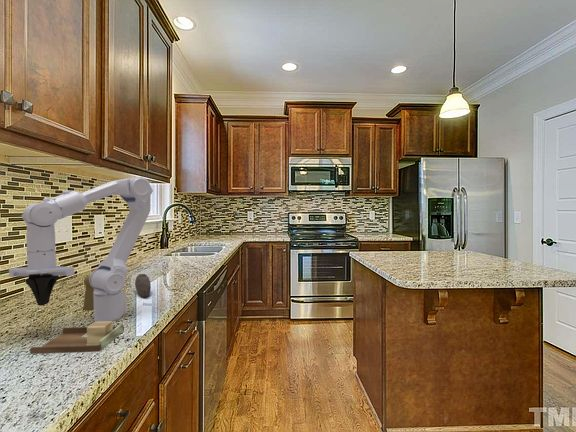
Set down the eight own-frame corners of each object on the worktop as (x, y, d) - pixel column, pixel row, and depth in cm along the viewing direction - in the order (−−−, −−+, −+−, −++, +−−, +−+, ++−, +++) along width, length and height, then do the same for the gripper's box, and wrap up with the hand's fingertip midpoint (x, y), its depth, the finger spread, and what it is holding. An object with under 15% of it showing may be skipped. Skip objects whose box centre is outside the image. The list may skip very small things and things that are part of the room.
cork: (107, 304, 112) (106, 273, 111) (97, 310, 106) (97, 277, 105) (89, 304, 111) (89, 273, 111) (79, 310, 105) (78, 277, 105)
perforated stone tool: (152, 298, 119) (152, 279, 119) (137, 300, 117) (136, 281, 117) (149, 289, 132) (148, 272, 132) (134, 291, 130) (134, 273, 130)
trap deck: (64, 338, 83) (64, 324, 83) (124, 336, 84) (123, 323, 84) (30, 360, 72) (29, 344, 71) (100, 357, 72) (99, 342, 72)
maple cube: (96, 337, 80) (96, 321, 80) (113, 337, 80) (112, 321, 80) (87, 344, 76) (86, 327, 76) (104, 344, 76) (104, 327, 76)
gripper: (-3, 253, 77) (-1, 310, 77) (61, 252, 77) (63, 308, 78) (20, 249, 84) (22, 301, 84) (78, 248, 84) (80, 299, 85)
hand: (43, 304), depth 81 cm, fingers closed
